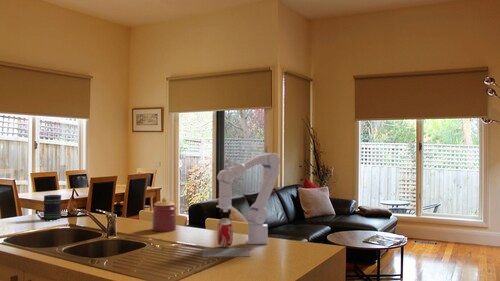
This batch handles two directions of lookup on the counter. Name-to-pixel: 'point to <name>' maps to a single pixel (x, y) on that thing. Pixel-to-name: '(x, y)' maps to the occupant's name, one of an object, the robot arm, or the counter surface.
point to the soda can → (225, 232)
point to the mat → (226, 252)
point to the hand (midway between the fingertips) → (224, 225)
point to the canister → (164, 216)
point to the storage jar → (52, 207)
